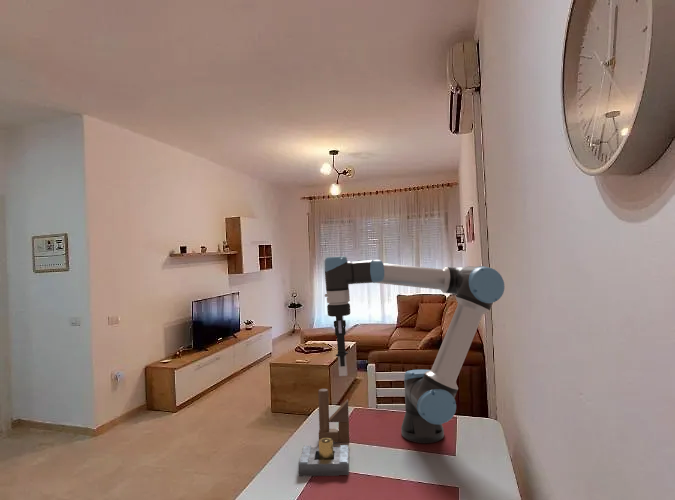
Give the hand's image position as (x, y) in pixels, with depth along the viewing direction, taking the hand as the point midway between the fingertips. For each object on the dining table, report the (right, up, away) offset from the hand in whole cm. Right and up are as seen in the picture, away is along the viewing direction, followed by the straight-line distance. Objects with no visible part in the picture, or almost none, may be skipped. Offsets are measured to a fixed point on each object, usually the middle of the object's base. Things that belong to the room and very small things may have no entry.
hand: (343, 375), depth 133 cm
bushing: (-5, -27, -6) cm, 28 cm away
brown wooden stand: (-3, -27, +12) cm, 30 cm away
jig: (-6, -27, -6) cm, 28 cm away
